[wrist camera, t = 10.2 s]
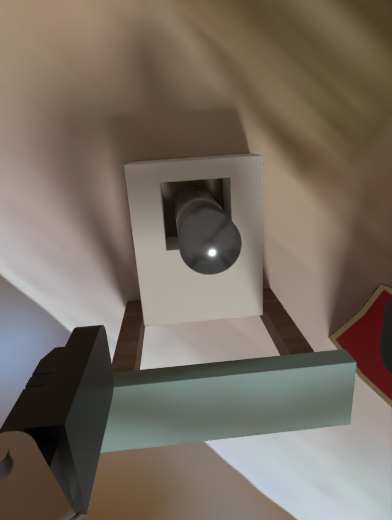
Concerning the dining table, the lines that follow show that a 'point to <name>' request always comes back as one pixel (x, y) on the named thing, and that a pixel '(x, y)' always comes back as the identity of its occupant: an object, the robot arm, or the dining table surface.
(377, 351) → the milk carton
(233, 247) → the peg
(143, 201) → the socket block
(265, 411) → the grey arch
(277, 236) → the dining table surface
